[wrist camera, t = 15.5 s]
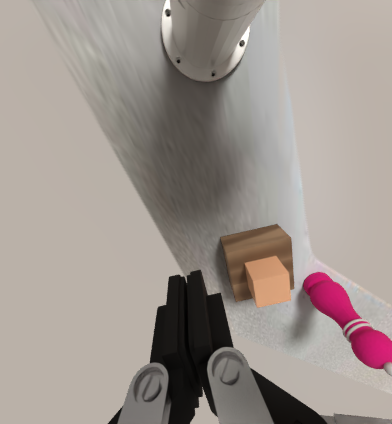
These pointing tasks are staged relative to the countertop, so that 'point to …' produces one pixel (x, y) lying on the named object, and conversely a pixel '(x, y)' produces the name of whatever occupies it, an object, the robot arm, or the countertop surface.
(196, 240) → the countertop surface
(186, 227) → the countertop surface
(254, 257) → the post block
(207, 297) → the robot arm
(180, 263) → the countertop surface
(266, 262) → the cardboard-colored cube
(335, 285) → the pepper mill
